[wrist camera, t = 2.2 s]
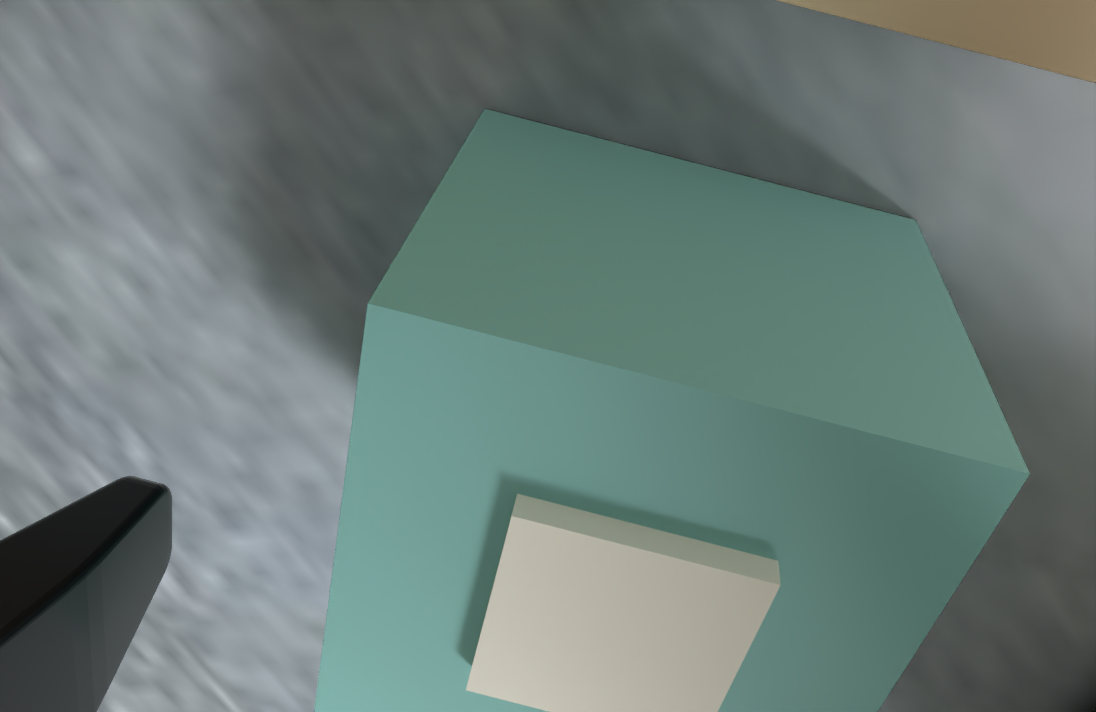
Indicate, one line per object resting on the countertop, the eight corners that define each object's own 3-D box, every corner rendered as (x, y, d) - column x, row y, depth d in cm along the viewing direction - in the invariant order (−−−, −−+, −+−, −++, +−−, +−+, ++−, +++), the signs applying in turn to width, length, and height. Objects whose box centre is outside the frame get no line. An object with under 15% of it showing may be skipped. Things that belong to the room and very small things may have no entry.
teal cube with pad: (915, 219, 12) (1041, 498, 8) (767, 537, 15) (795, 870, 11) (484, 108, 12) (356, 322, 8) (421, 448, 15) (303, 744, 11)
